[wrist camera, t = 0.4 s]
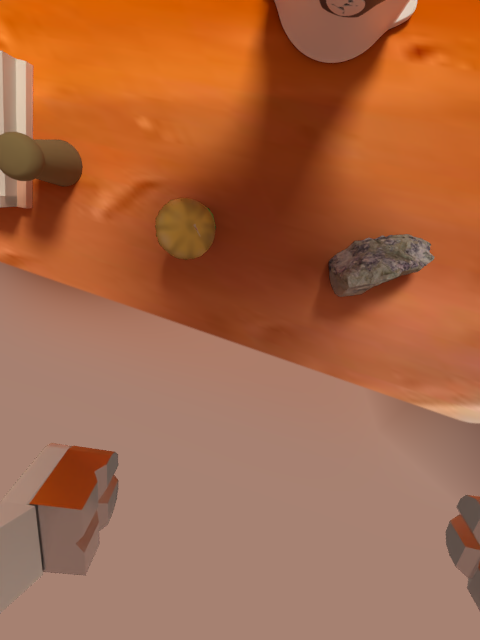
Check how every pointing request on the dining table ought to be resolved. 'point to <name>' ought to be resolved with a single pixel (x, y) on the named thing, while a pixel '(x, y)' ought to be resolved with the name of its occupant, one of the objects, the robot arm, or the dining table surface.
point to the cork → (39, 159)
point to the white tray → (15, 122)
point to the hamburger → (185, 228)
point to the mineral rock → (376, 262)
